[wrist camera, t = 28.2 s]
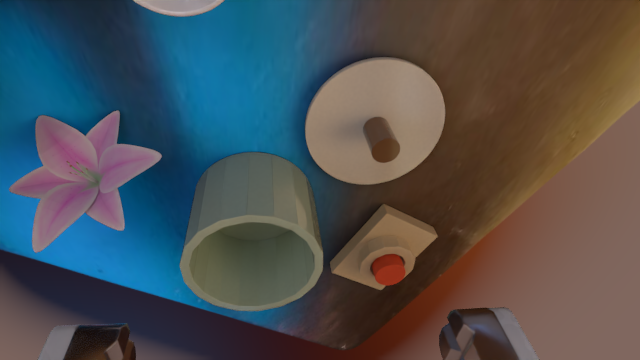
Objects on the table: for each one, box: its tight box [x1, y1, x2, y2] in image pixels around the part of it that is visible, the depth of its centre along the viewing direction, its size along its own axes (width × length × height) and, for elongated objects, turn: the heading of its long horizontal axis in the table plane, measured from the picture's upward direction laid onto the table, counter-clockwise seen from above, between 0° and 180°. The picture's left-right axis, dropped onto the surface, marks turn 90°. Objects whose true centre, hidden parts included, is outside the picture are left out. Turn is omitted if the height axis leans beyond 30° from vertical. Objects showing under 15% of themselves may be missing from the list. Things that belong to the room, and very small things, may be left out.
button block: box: [330, 204, 438, 290], centre depth 49 cm, size 11×8×4 cm
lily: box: [9, 111, 162, 253], centre depth 36 cm, size 12×12×10 cm
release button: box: [372, 254, 406, 285], centre depth 48 cm, size 4×4×2 cm
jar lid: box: [305, 57, 445, 185], centre depth 38 cm, size 14×14×5 cm
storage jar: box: [180, 152, 323, 311], centre depth 41 cm, size 13×13×10 cm
